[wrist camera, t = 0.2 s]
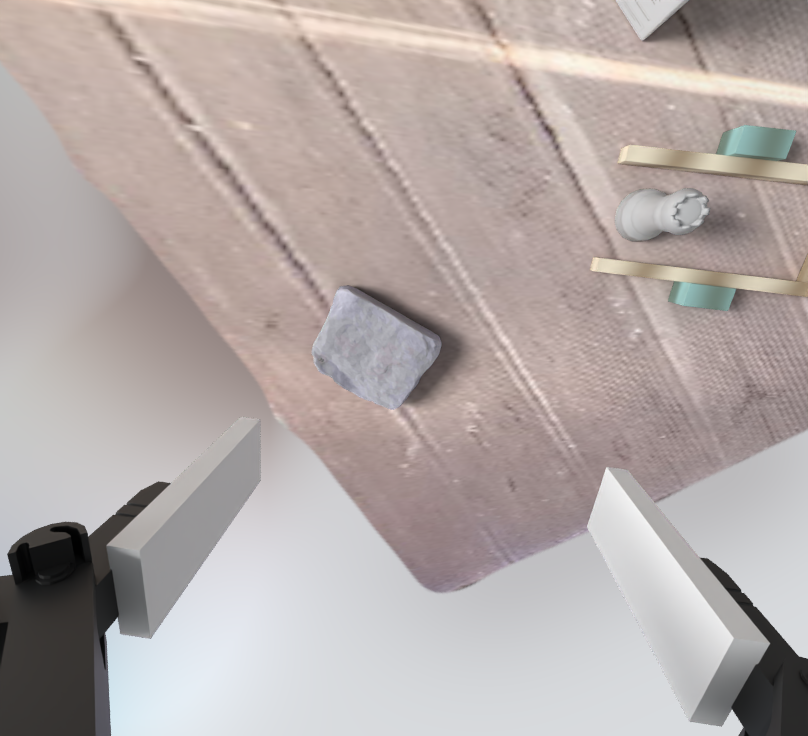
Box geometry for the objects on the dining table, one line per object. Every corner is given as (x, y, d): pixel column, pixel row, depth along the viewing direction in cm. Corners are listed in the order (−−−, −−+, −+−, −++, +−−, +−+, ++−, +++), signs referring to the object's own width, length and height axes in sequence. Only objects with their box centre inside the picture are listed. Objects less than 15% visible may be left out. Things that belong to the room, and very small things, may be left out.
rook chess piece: (605, 235, 37) (649, 236, 30) (623, 184, 36) (674, 171, 28) (652, 246, 37) (708, 249, 30) (672, 195, 36) (736, 184, 28)
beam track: (584, 291, 39) (594, 294, 36) (628, 122, 34) (642, 114, 32) (794, 316, 38) (818, 322, 36) (867, 148, 34) (900, 142, 31)
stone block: (406, 400, 46) (449, 331, 41) (397, 424, 42) (445, 351, 37) (314, 349, 45) (347, 273, 40) (296, 369, 41) (331, 287, 36)
